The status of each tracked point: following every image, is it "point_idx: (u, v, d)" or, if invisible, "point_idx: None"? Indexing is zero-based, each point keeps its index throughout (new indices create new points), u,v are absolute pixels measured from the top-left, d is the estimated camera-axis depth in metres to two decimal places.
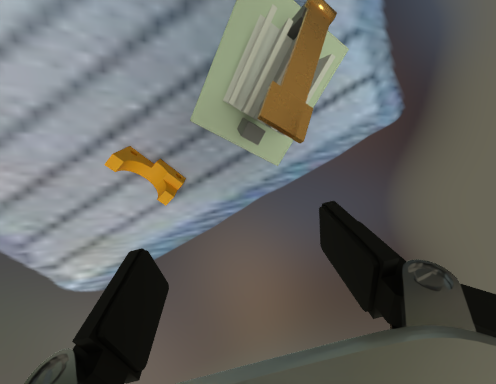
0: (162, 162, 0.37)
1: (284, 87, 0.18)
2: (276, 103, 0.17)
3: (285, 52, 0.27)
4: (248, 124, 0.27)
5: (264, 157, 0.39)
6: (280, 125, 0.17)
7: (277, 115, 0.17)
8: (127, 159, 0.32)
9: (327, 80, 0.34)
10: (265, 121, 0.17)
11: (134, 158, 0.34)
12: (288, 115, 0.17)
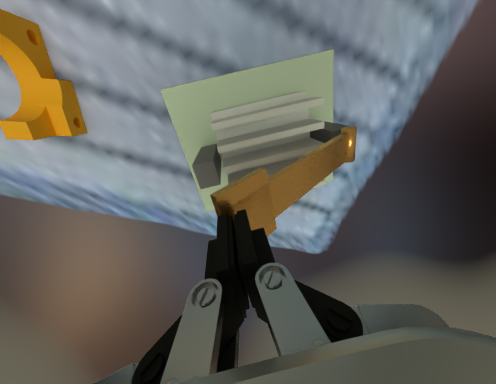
0: (71, 88, 0.24)
1: (270, 186, 0.12)
2: (246, 196, 0.11)
3: (296, 138, 0.24)
4: (210, 162, 0.20)
5: (201, 194, 0.32)
6: None
7: (235, 212, 0.11)
8: (0, 31, 0.18)
9: None
10: (215, 207, 0.10)
11: (23, 43, 0.20)
12: None
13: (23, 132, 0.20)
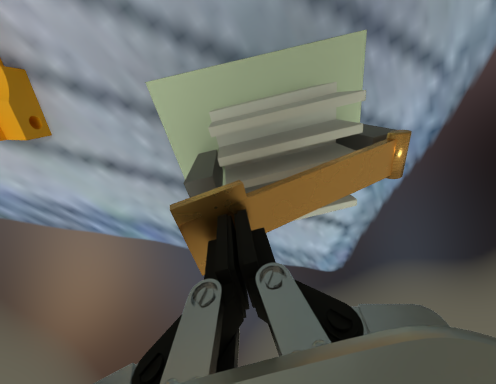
0: (24, 78, 0.18)
1: (249, 202, 0.11)
2: (214, 212, 0.10)
3: (319, 144, 0.19)
4: (208, 179, 0.15)
5: None
6: (189, 241, 0.10)
7: (198, 227, 0.10)
8: None
9: None
10: None
11: None
12: (214, 236, 0.11)
13: None
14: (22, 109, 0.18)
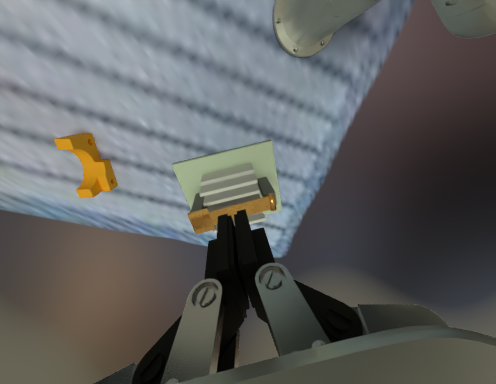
0: (109, 163, 0.41)
1: (210, 214, 0.36)
2: (199, 216, 0.36)
3: None
4: None
5: None
6: (192, 223, 0.36)
7: (194, 219, 0.36)
8: (79, 148, 0.35)
9: None
10: (189, 217, 0.36)
11: (87, 147, 0.37)
12: (199, 223, 0.37)
13: (88, 194, 0.38)
14: (109, 177, 0.41)
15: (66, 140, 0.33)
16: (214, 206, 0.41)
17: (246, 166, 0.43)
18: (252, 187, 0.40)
